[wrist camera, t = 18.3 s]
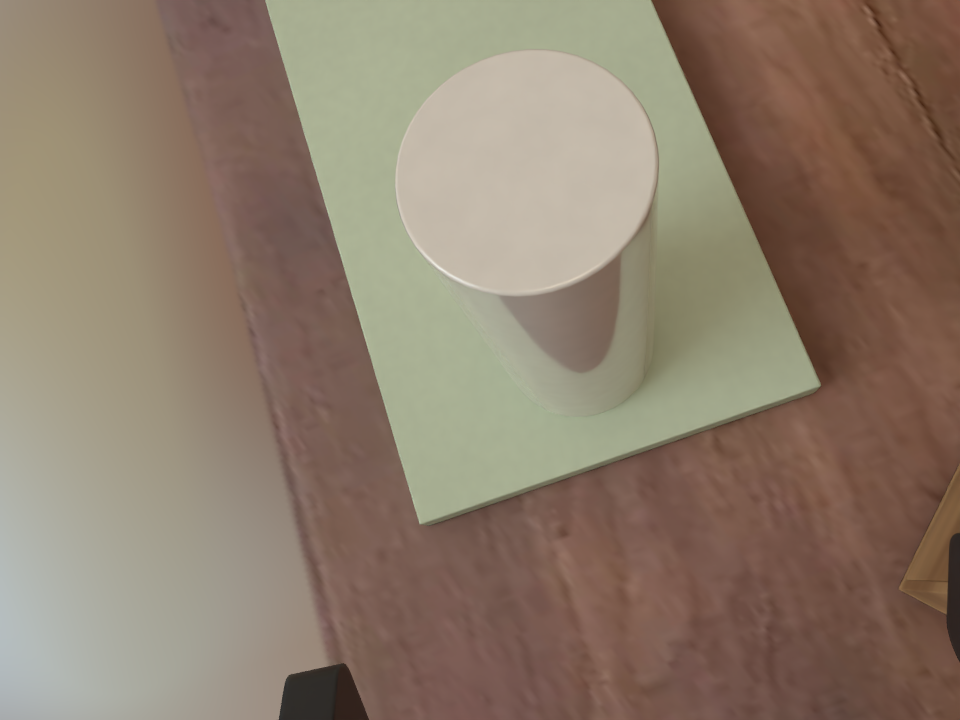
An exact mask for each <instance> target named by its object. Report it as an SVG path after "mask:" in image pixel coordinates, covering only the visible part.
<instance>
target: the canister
mask: <svg viewBox="0 0 960 720" xmlns="http://www.w3.org/2000/svg"><path fill="white" fill-rule="evenodd" d="M658 189H659V156H658V146H657V141H656V137H655V133H654V130H653V127H652V124H651V121H650V119H649V117H648V115H647V113H646V111H645V109H644V107H643V106H642V104H641V103H640V101H639V100H638V99H637V97H636V96H635V94H634V93H633V92H632V91H631V90H630V89H629V88H628V87H627V86H626V85H625V84H624V83H623V82H622V81H621V80H620V79H619V78H618V77H616V76H615V75H614V74H612V73H611V72H610V71H608V70H607V69H605V68H603V67H602V66H600V65H598V64H596V63H595V62H593V61H590V60H588V59H585V58H583V57H580V56H578V55H574V54H570V53H566V52H563V51H555V50H548V49H525V50H516V51H510V52H506V53H501V54H497V55H494V56H491V57H488V58H485V59H482V60H480V61H478V62H476V63H474V64H472V65H470V66H467V67H465V68H464V69H462V70H461V71H459V72H458V73H456V74H454V75H453V76H451V77H450V78H449V79H448V80H446V81H445V82H444V83H443V84H441V85H440V86H439V87H438V88H437V89H436V90H435V91H434V92H433V93H432V94H431V95H430V96H429V97H428V98H427V99H426V101H425V102H424V103H423V105H422V106H421V107H420V108H419V110H418V111H417V113H416V114H415V116H414V118H413V119H412V121H411V123H410V124H409V126H408V129H407V131H406V133H405V136H404V138H403V140H402V144H401V147H400V150H399V154H398V158H397V164H396V171H395V193H396V201H397V206H398V210H399V214H400V217H401V220H402V223H403V225H404V227H405V230H406V232H407V234H408V236H409V237H410V239H411V241H412V242H413V244H414V246H415V247H416V249H417V250H418V251H419V253H420V254H421V255H422V257H423V258H424V260H425V261H426V262H427V264H428V265H429V266H430V268H431V269H432V270H433V272H434V273H435V275H436V276H437V277H438V279H439V280H440V281H441V283H442V284H443V286H444V287H445V288H446V290H447V291H448V292H449V294H450V295H451V297H452V298H453V299H454V301H455V302H456V303H457V305H458V306H459V308H460V309H461V310H462V312H463V313H464V314H465V316H466V317H467V318H468V320H469V321H470V323H471V324H472V325H473V327H474V328H475V329H476V331H477V332H478V334H479V335H480V336H481V338H482V339H483V340H484V342H485V343H486V345H487V346H488V347H489V349H490V350H491V351H492V353H493V354H494V356H495V357H496V358H497V360H498V361H499V362H500V364H501V365H502V366H503V368H504V369H505V371H506V372H507V373H508V375H509V376H510V377H511V379H512V380H513V382H514V383H515V384H516V386H517V387H518V388H519V389H520V391H521V392H522V393H523V394H524V395H525V396H526V397H527V398H528V399H529V400H530V401H532V402H533V403H535V404H536V405H538V406H539V407H541V408H543V409H545V410H547V411H550V412H553V413H555V414H559V415H564V416H572V417H584V416H591V415H596V414H600V413H603V412H606V411H608V410H610V409H613V408H615V407H616V406H618V405H620V404H621V403H623V402H624V401H625V400H626V399H628V398H629V397H630V396H631V395H632V394H633V393H634V392H635V391H636V390H637V389H638V388H639V386H640V385H641V383H642V382H643V381H644V379H645V377H646V375H647V373H648V371H649V368H650V366H651V363H652V359H653V354H654V344H655V306H656V267H657V228H658Z"/></svg>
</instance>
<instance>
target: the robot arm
mask: <svg viewBox="0 0 960 720" xmlns="http://www.w3.org/2000/svg"><path fill="white" fill-rule="evenodd" d="M947 629H948V633H949V637H950V641H951V643H952V646H953V649H954V651H955V654H956V656H957V658H958V660H959V662H960V533H956V534H954V535H953V536H952V538H951V540H950V544H949V564H948V590H947ZM281 704H282V705H281V710H280V716H279V720H369V719H368V716H367V713H366V711H365V708H364V706H363V703H362V701H361V698H360V696H359V693H358V690H357V688H356V685H355V683H354V680H353V678H352V675H351V673H350V670H349V669H348V667H347V666H346V664H344V663H342V664H337V665H333V666H328V667H324V668H319V669H314V670H310V671H305V672H300V673H296V674H291V675H289V676H288V677H287V679H286V682H285V686H284V691H283V697H282V703H281Z"/></svg>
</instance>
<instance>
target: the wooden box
mask: <svg viewBox="0 0 960 720" xmlns="http://www.w3.org/2000/svg"><path fill="white" fill-rule="evenodd" d="M956 533H960V464H959V466H958V468H957V470H956V472H955V474H954V476H953V478H952V480H951V482H950V484H949V486H948V488H947V490H946V492H945V494H944V496H943V498H942V500H941V502H940V505H939V507H938V509H937V511H936V513H935V515H934V517H933V519H932V521H931V523H930V525H929V527H928V529H927V531H926V533H925V535H924V537H923V539H922V541H921V543H920V545H919V547H918V549H917V551H916V553H915V555H914V557H913V560H912V562H911V564H910V566H909V568H908V570H907V572H906V574H905V576H904V578H903V580H902V582H901V584H900V586H899V590H901V591H903V592H904V593H906V594H908V595H910V596H912V597H914V598H916V599H918V600H920V601H921V602H923V603H925V604H927V605H929V606H931V607H933V608H935V609H937V610H938V611H940V612H942V613H944V614H946V615H947V590H948V564H949V544H950V540H951V538H952V536H953V535H954V534H956Z"/></svg>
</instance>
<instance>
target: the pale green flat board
mask: <svg viewBox="0 0 960 720" xmlns="http://www.w3.org/2000/svg"><path fill="white" fill-rule="evenodd" d="M265 1H266V5H267V8H268V12H269V15H270V18H271V22H272V25H273V29H274V32H275V35H276V39H277V42H278V45H279V49H280V52H281V56H282V59H283V62H284V66H285V69H286V73H287V76H288V79H289V83H290V86H291V90H292V93H293V96H294V100H295V103H296V106H297V110H298V113H299V117H300V120H301V123H302V127H303V130H304V134H305V137H306V140H307V144H308V147H309V151H310V154H311V157H312V161H313V164H314V167H315V171H316V174H317V178H318V181H319V184H320V188H321V191H322V195H323V198H324V201H325V205H326V208H327V212H328V215H329V218H330V222H331V225H332V228H333V232H334V235H335V239H336V242H337V245H338V249H339V252H340V256H341V259H342V262H343V266H344V269H345V272H346V276H347V279H348V283H349V286H350V289H351V293H352V296H353V300H354V303H355V306H356V310H357V313H358V317H359V320H360V323H361V327H362V330H363V333H364V337H365V340H366V344H367V347H368V350H369V354H370V357H371V361H372V364H373V367H374V371H375V374H376V378H377V381H378V384H379V388H380V391H381V394H382V398H383V401H384V405H385V408H386V411H387V415H388V418H389V422H390V425H391V428H392V432H393V435H394V439H395V442H396V445H397V449H398V452H399V455H400V459H401V462H402V466H403V469H404V472H405V476H406V479H407V483H408V486H409V489H410V493H411V496H412V500H413V503H414V506H415V510H416V513H417V516H418V520H419V523H420V524H422V525H427V526H430V525H433V524H436V523H439V522H442V521H445V520H447V519H450V518H453V517H456V516H459V515H462V514H465V513H468V512H471V511H474V510H476V509H479V508H482V507H485V506H488V505H491V504H494V503H497V502H500V501H502V500H505V499H508V498H511V497H514V496H517V495H520V494H523V493H526V492H529V491H531V490H534V489H537V488H540V487H543V486H546V485H549V484H552V483H555V482H558V481H560V480H563V479H566V478H569V477H572V476H575V475H578V474H581V473H584V472H587V471H589V470H592V469H595V468H598V467H601V466H604V465H607V464H610V463H613V462H616V461H618V460H621V459H624V458H627V457H630V456H633V455H636V454H639V453H642V452H645V451H647V450H650V449H653V448H656V447H659V446H662V445H665V444H668V443H671V442H673V441H676V440H679V439H682V438H685V437H688V436H691V435H694V434H697V433H700V432H702V431H705V430H708V429H711V428H714V427H717V426H720V425H723V424H726V423H729V422H731V421H734V420H737V419H740V418H743V417H746V416H749V415H752V414H755V413H758V412H760V411H763V410H766V409H769V408H772V407H775V406H778V405H781V404H784V403H787V402H789V401H792V400H795V399H798V398H801V397H804V396H807V395H810V394H813V393H815V392H816V391H817V389H818V388H819V387H820V386H821V383H820V381H819V379H818V376H817V374H816V372H815V370H814V367H813V365H812V363H811V361H810V358H809V356H808V354H807V351H806V349H805V347H804V345H803V342H802V340H801V338H800V336H799V333H798V331H797V329H796V327H795V324H794V322H793V320H792V318H791V315H790V313H789V311H788V308H787V306H786V304H785V302H784V299H783V297H782V295H781V293H780V290H779V288H778V286H777V284H776V281H775V279H774V277H773V274H772V272H771V270H770V268H769V265H768V263H767V261H766V259H765V256H764V254H763V252H762V250H761V247H760V245H759V243H758V241H757V238H756V236H755V234H754V231H753V229H752V227H751V225H750V222H749V220H748V218H747V216H746V213H745V211H744V209H743V207H742V204H741V202H740V200H739V198H738V195H737V193H736V191H735V188H734V186H733V184H732V182H731V179H730V177H729V175H728V173H727V170H726V168H725V166H724V164H723V161H722V159H721V157H720V154H719V152H718V150H717V148H716V145H715V143H714V141H713V139H712V136H711V134H710V132H709V130H708V127H707V125H706V123H705V121H704V118H703V116H702V114H701V111H700V109H699V107H698V105H697V102H696V100H695V98H694V96H693V93H692V91H691V89H690V87H689V84H688V82H687V80H686V77H685V75H684V73H683V71H682V68H681V66H680V64H679V62H678V59H677V57H676V55H675V53H674V50H673V48H672V46H671V44H670V41H669V39H668V37H667V34H666V32H665V30H664V28H663V25H662V23H661V21H660V19H659V16H658V14H657V12H656V10H655V7H654V5H653V3H652V0H265ZM525 49H548V50H555V51H563V52H566V53H570V54H574V55H578V56H580V57H583V58H585V59H588V60H590V61H593V62H595V63H596V64H598V65H600V66H602V67H603V68H605V69H607V70H608V71H610V72H611V73H612V74H614V75H615V76H616V77H618V78H619V79H620V80H621V81H622V82H623V83H624V84H625V85H626V86H627V87H628V88H629V89H630V90H631V91H632V92H633V93H634V94H635V96H636V97H637V99H638V100H639V101H640V103H641V104H642V106H643V107H644V109H645V111H646V113H647V115H648V117H649V119H650V121H651V124H652V127H653V130H654V133H655V137H656V141H657V146H658V156H659V189H658V228H657V267H656V306H655V344H654V354H653V359H652V363H651V366H650V368H649V371H648V373H647V375H646V377H645V379H644V381H643V382H642V383H641V385H640V386H639V388H638V389H637V390H636V391H635V392H634V393H633V394H632V395H631V396H630V397H629V398H628V399H626V400H625V401H624V402H623V403H621V404H620V405H618V406H616V407H615V408H613V409H610V410H608V411H606V412H603V413H600V414H596V415H591V416H584V417H572V416H564V415H559V414H555V413H553V412H550V411H547V410H545V409H543V408H541V407H539V406H538V405H536V404H535V403H533V402H532V401H530V400H529V399H528V398H527V397H526V396H525V395H524V394H523V393H522V392H521V391H520V389H519V388H518V387H517V386H516V384H515V383H514V382H513V380H512V379H511V377H510V376H509V375H508V373H507V372H506V371H505V369H504V368H503V366H502V365H501V364H500V362H499V361H498V360H497V358H496V357H495V356H494V354H493V353H492V351H491V350H490V349H489V347H488V346H487V345H486V343H485V342H484V340H483V339H482V338H481V336H480V335H479V334H478V332H477V331H476V329H475V328H474V327H473V325H472V324H471V323H470V321H469V320H468V318H467V317H466V316H465V314H464V313H463V312H462V310H461V309H460V308H459V306H458V305H457V303H456V302H455V301H454V299H453V298H452V297H451V295H450V294H449V292H448V291H447V290H446V288H445V287H444V286H443V284H442V283H441V281H440V280H439V279H438V277H437V276H436V275H435V273H434V272H433V270H432V269H431V268H430V266H429V265H428V264H427V262H426V261H425V260H424V258H423V257H422V255H421V254H420V253H419V251H418V250H417V249H416V247H415V246H414V244H413V242H412V241H411V239H410V237H409V236H408V234H407V232H406V230H405V227H404V225H403V223H402V220H401V217H400V214H399V210H398V206H397V201H396V193H395V171H396V164H397V158H398V154H399V150H400V147H401V144H402V140H403V138H404V136H405V133H406V131H407V129H408V126H409V124H410V123H411V121H412V119H413V118H414V116H415V114H416V113H417V111H418V110H419V108H420V107H421V106H422V105H423V103H424V102H425V101H426V99H427V98H428V97H429V96H430V95H431V94H432V93H433V92H434V91H435V90H436V89H437V88H438V87H439V86H440V85H441V84H443V83H444V82H445V81H446V80H448V79H449V78H450V77H451V76H453V75H454V74H456V73H458V72H459V71H461V70H462V69H464V68H465V67H467V66H470V65H472V64H474V63H476V62H478V61H480V60H482V59H485V58H488V57H491V56H494V55H497V54H501V53H506V52H510V51H516V50H525Z"/></svg>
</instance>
